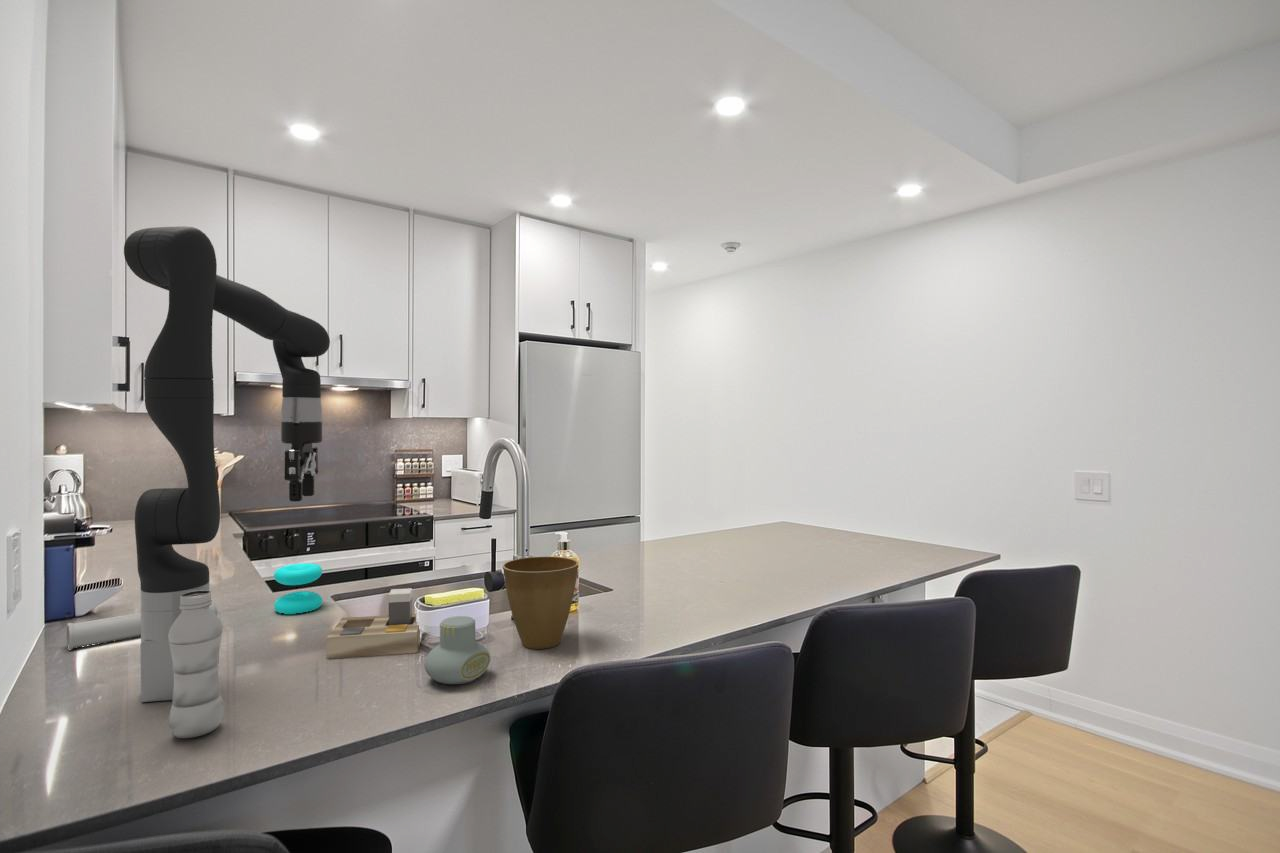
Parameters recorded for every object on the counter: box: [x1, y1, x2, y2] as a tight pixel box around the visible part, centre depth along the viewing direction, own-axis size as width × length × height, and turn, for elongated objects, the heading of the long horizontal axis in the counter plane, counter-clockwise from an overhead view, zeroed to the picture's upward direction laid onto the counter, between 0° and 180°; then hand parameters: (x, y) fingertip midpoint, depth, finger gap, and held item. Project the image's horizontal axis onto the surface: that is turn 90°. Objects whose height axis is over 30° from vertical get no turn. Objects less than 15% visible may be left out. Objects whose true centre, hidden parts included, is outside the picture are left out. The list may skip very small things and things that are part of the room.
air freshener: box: [424, 615, 491, 685], centre depth 113 cm, size 11×8×10 cm
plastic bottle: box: [168, 589, 225, 739], centre depth 93 cm, size 6×7×20 cm
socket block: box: [326, 613, 421, 660], centre depth 129 cm, size 12×16×4 cm
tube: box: [65, 602, 219, 650], centre depth 136 cm, size 5×5×25 cm
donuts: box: [273, 562, 323, 615], centre depth 153 cm, size 10×10×10 cm
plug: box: [388, 587, 413, 625], centre depth 132 cm, size 4×4×10 cm
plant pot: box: [502, 555, 579, 650], centre depth 131 cm, size 15×15×16 cm
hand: (302, 498), depth 135 cm, fingers open, 8 cm apart
